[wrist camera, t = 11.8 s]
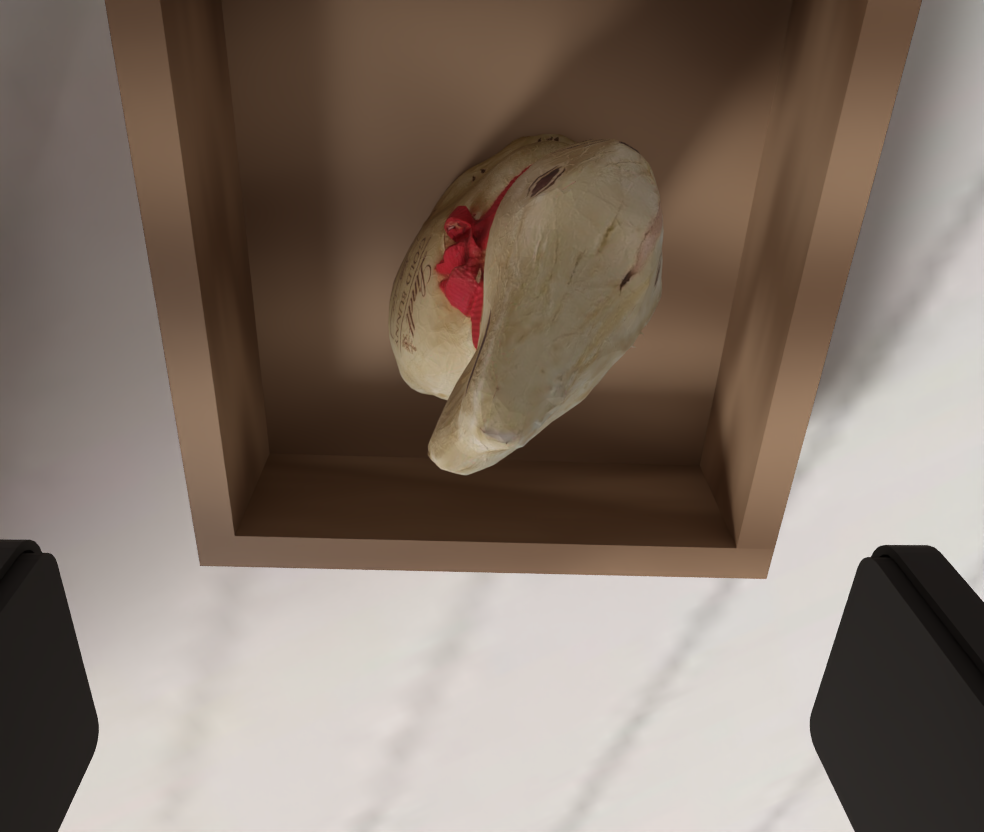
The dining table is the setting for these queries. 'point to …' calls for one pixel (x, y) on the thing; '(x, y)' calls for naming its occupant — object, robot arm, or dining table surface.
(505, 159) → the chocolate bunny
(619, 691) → the dining table surface
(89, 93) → the dining table surface
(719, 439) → the box
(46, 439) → the dining table surface
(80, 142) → the dining table surface
